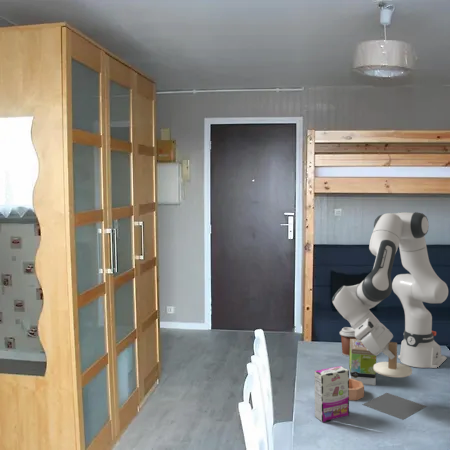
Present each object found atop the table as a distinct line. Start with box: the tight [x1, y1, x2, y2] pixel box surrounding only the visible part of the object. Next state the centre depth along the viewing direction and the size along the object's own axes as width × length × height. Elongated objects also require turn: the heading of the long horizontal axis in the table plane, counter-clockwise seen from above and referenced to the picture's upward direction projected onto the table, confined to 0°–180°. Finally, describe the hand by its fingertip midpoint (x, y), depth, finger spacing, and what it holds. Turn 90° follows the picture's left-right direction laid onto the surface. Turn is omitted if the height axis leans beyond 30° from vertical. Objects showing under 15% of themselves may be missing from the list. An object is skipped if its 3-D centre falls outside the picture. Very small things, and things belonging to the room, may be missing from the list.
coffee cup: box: [339, 326, 356, 357], centre depth 240 cm, size 9×9×12 cm
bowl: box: [349, 377, 365, 401], centre depth 193 cm, size 11×11×4 cm
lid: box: [373, 341, 413, 378], centre depth 182 cm, size 13×13×10 cm
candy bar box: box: [314, 365, 350, 423], centre depth 175 cm, size 11×5×16 cm, turn 114°
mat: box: [362, 392, 428, 421], centre depth 183 cm, size 16×16×1 cm
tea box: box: [348, 339, 377, 386], centre depth 209 cm, size 15×10×15 cm
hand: (394, 356), depth 181 cm, fingers closed on lid, 2 cm apart
